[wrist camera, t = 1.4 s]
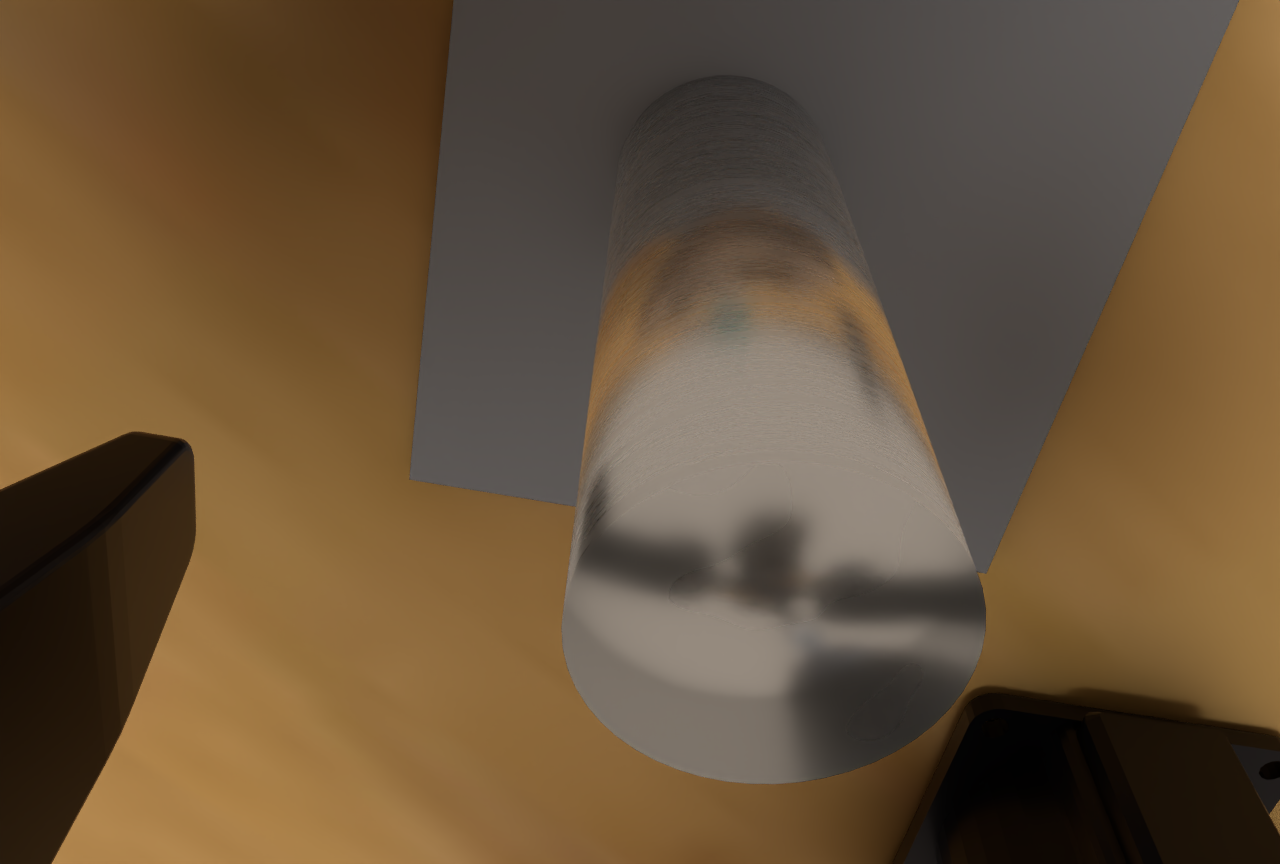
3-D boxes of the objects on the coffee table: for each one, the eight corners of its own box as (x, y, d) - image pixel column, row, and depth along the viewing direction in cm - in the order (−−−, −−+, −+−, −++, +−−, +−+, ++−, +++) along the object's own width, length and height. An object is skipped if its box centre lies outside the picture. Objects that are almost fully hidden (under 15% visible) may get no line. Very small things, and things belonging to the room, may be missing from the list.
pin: (799, 295, 17) (910, 808, 9) (601, 259, 17) (534, 753, 9) (854, 97, 16) (1050, 505, 7) (637, 55, 15) (598, 428, 7)
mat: (982, 562, 20) (986, 573, 20) (412, 469, 19) (409, 479, 19) (1242, -34, 15) (1252, -31, 15) (474, -194, 14) (471, -192, 14)
